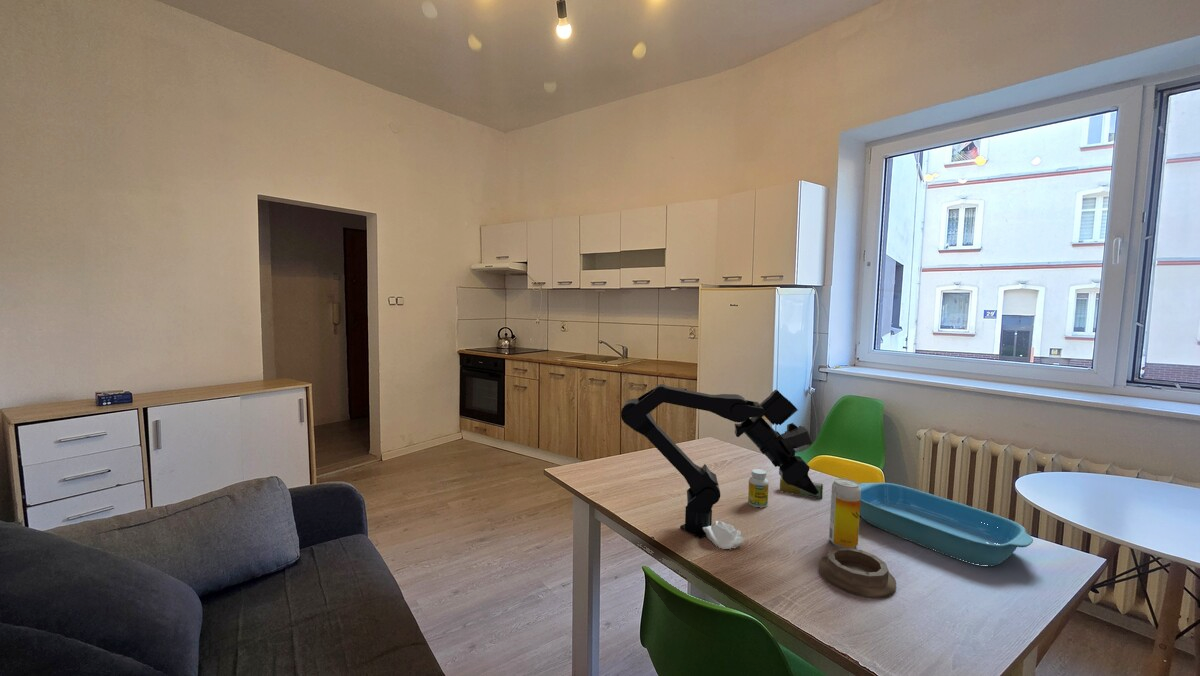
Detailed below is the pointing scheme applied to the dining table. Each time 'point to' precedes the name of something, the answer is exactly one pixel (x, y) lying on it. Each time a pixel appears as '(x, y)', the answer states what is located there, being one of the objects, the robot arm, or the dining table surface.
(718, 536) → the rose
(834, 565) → the can holder
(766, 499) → the supplement bottle
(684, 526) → the robot arm
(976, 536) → the casserole dish
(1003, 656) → the dining table surface
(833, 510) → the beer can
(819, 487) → the medication box
